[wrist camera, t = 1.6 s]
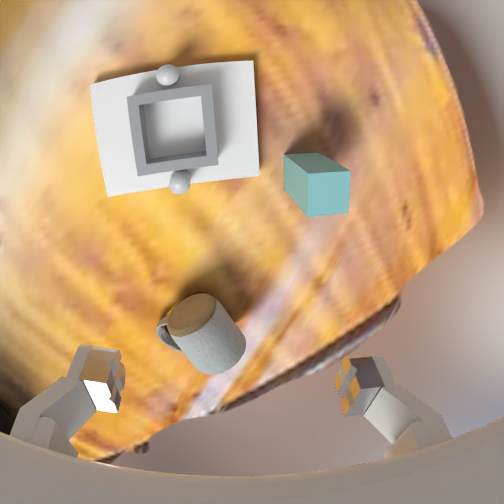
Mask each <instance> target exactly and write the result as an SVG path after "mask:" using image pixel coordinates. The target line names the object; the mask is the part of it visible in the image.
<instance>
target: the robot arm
mask: <svg viewBox="0 0 504 504" xmlns="http://www.w3.org/2000/svg"><path fill="white" fill-rule="evenodd" d="M120 360H121V353H120V351H119V350H114V349H108V348H102V347H96V346H89V345H83V344H81V345H80V346H79V347H78V349H77V351H76V353H75V356H74V358H73V361H72V363H71V365H70V368H69V370H68V373H67V375H66V377H61V378H60V379H59V380H57V381H56V382H55V383H53V384H52V385H50V386H49V387H48V388H46V389H45V390H44V391H42V392H41V393H40V394H38V395H37V396H36V397H34V398H33V399H32V400H30V401H29V402H27V403H26V404H25V405H23V406H22V407H21V408H20V409H19V412H18V414H17V417H16V419H15V422H14V425H13V427H12V430H11V433H10V436H9V435H7V434H4V433H2V432H0V504H504V417H502V418H500V419H498V420H496V421H494V422H492V423H490V424H487V425H485V426H483V427H480V428H478V429H476V430H473V431H471V432H468V433H466V434H463V435H461V436H458V437H455V438H452V437H451V435H450V433H449V430H448V428H447V426H446V424H445V422H444V420H443V417H442V415H441V414H440V413H438V412H437V411H436V410H434V409H433V408H431V407H430V406H429V405H427V404H426V403H425V402H423V401H422V400H420V399H419V398H418V397H416V396H415V395H413V394H412V393H411V392H409V391H408V390H407V389H405V388H404V387H403V386H401V385H397V384H396V382H395V380H394V378H393V375H392V373H391V371H390V369H389V368H388V365H387V363H386V361H385V359H384V357H383V355H381V354H376V355H361V356H348V357H345V358H344V359H343V361H342V363H341V364H342V368H341V369H340V370H338V372H337V375H336V377H335V386H336V387H335V388H336V392H337V394H338V395H339V396H341V397H342V400H341V402H340V405H341V408H342V411H343V415H344V417H345V416H355V415H363V414H364V416H365V417H366V418H367V419H368V420H369V421H370V422H371V423H372V424H373V425H374V426H375V427H376V428H377V429H378V430H379V431H380V432H381V433H382V434H383V435H384V436H385V437H386V438H387V439H388V440H389V441H390V442H391V443H392V446H391V447H390V448H389V449H388V450H387V451H386V452H385V453H384V458H385V459H382V460H377V461H373V462H368V463H363V464H358V465H353V466H348V467H342V468H335V469H330V470H322V471H314V472H306V473H296V474H284V475H270V476H240V477H239V476H237V477H236V476H235V477H234V476H230V477H229V476H197V475H182V474H171V473H161V472H153V471H145V470H137V469H132V468H125V467H120V466H114V465H109V464H104V463H99V462H95V461H90V460H86V459H82V458H78V457H77V456H78V452H77V450H76V449H75V448H74V446H73V445H72V444H71V443H70V441H69V439H70V438H71V437H72V436H73V435H74V434H75V433H76V432H77V431H78V430H79V429H80V428H81V427H82V426H83V425H84V424H85V423H86V422H87V421H88V420H89V419H90V418H91V417H92V415H93V414H94V413H95V412H96V411H97V410H101V411H108V412H115V413H118V410H119V406H120V401H121V396H120V394H119V392H120V391H121V390H123V389H124V384H125V368H124V365H123V364H122V363H121V362H120Z"/></svg>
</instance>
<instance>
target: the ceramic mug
mask: <svg viewBox="0 0 504 504" xmlns="http://www.w3.org/2000/svg"><path fill="white" fill-rule="evenodd" d="M164 325H167V328H168V331H169V333H170V335H171V336H170V335H169V334H168V333H167V331H166V330H165V327H164ZM156 332H157V334H158V336H159V338H160V339H161V340H162V342H164V343H165V344H166V345H167V346H169V347H170V348H172V349H175V350H177V351H180V352H184V354H185V355H186V356H187V357H188V359H189V360H190V361H191V362H192V364H193V365H194V366H195V367H196V368H197V369H198V370H199V371H200V372H202V373H204V374H209V375H215V374H219V373H223V372H225V371H227V370H229V369H230V368H232V367H233V366H234V365H235V364H236V363H237V362H238V361H239V360H240V359H241V357H242V355H243V354H244V351H245V348H246V341H245V337H244V335H243V334H242V332H241V331H240V329H239V328H238V327H237V325H236V324H235V323H234V321H233V320H232V318H231V317H230V316H229V315H228V313H227V312H226V310H225V309H224V307H223V306H222V304H221V303H220V302H219V301H218V300H217V299H216V298H215V297H213V296H212V295H210V294H207V293H199V294H194V295H191V296H189V297H187V298H185V299H184V300H182V301H181V302H180V303H178V304H177V305H176V306H175V308H174V309H173V310H172V311H171V313H170V315H169V316H166V317H164V318H162V319H161V320H160V322H159V323H158V325H157V329H156Z"/></svg>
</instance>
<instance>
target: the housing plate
mask: <svg viewBox="0 0 504 504" xmlns="http://www.w3.org/2000/svg"><path fill="white" fill-rule="evenodd" d="M90 93H91V102H92V110H93V117H94V124H95V131H96V137H97V144H98V150H99V155H100V161H101V166H102V171H103V177H104V182H105V186H106V191H107V196H108V197H110V196H115V195H121V194H127V193H133V192H139V191H145V190H151V189H157V188H164V187H170V189H171V191H172V192H173V193H175V194H184V193H186V192H187V191H188V190H189V188H190V184H192V183H200V182H208V181H216V180H225V179H234V178H243V177H253V176H260V174H259V155H258V136H257V117H256V100H255V82H254V66H253V60H252V61H232V62H218V63H207V64H197V65H189V66H181V67H175V66H174V65H172V64H165V65H162V66H161V67H160V68H159V69H158V70H154V71H149V72H143V73H138V74H133V75H128V76H123V77H118V78H114V79H110V80H105V81H101V82H97V83H94V84H90Z"/></svg>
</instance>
